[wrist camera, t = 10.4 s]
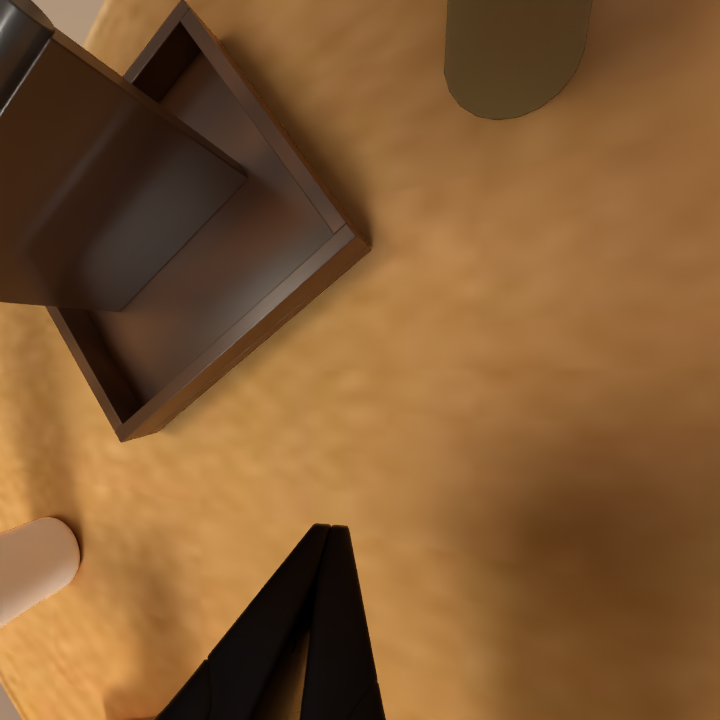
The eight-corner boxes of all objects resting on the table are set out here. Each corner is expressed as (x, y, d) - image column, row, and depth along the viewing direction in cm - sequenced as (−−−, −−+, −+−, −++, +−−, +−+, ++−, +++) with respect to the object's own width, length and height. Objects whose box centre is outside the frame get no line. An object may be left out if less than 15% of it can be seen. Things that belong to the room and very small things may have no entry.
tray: (372, 249, 19) (212, 113, 8) (157, 432, 24) (-135, 513, 13) (215, 36, 22) (-84, -308, 10) (48, 243, 27) (-281, 167, 15)
